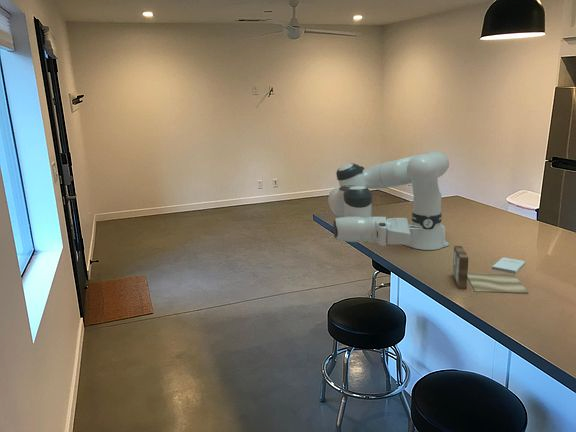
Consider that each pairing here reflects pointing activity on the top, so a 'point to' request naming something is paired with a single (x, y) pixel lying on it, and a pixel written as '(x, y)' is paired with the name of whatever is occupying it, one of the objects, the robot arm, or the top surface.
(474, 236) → the top surface
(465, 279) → the walnut picture frame
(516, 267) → the external hard drive
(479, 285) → the beige square tray
